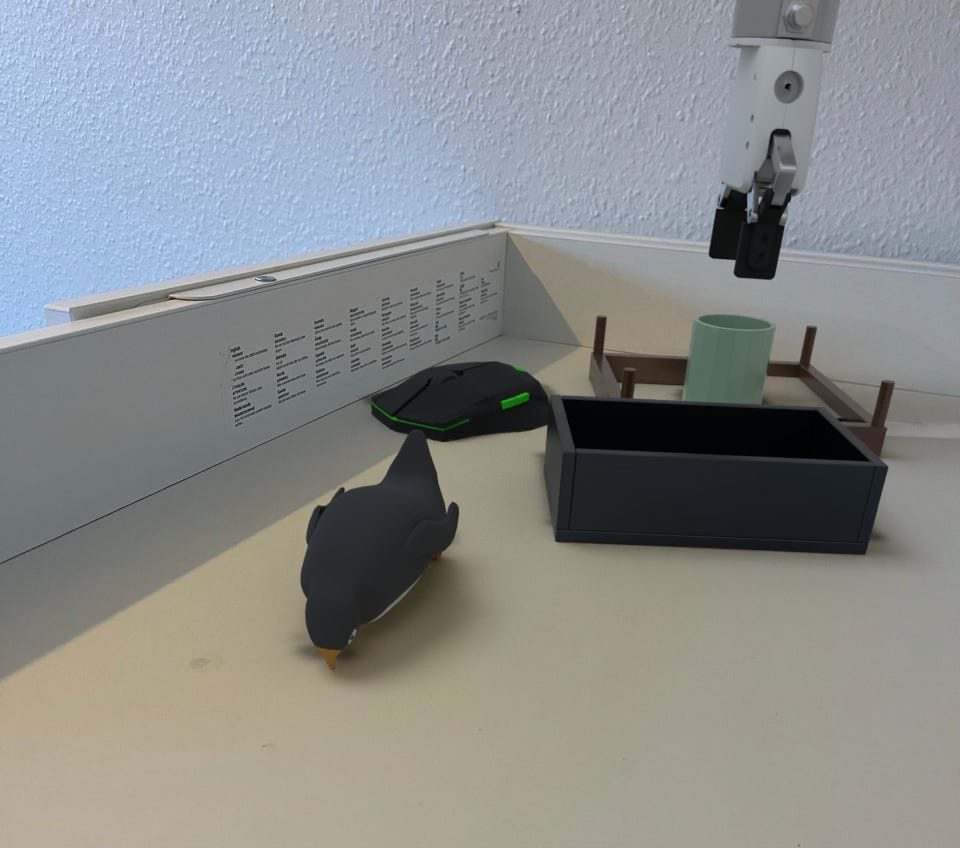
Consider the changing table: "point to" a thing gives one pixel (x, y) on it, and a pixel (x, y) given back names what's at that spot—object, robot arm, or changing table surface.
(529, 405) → the computer mouse
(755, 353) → the cup
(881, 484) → the black open box
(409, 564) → the figurine
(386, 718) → the changing table surface
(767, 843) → the changing table surface
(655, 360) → the frame
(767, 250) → the robot arm
